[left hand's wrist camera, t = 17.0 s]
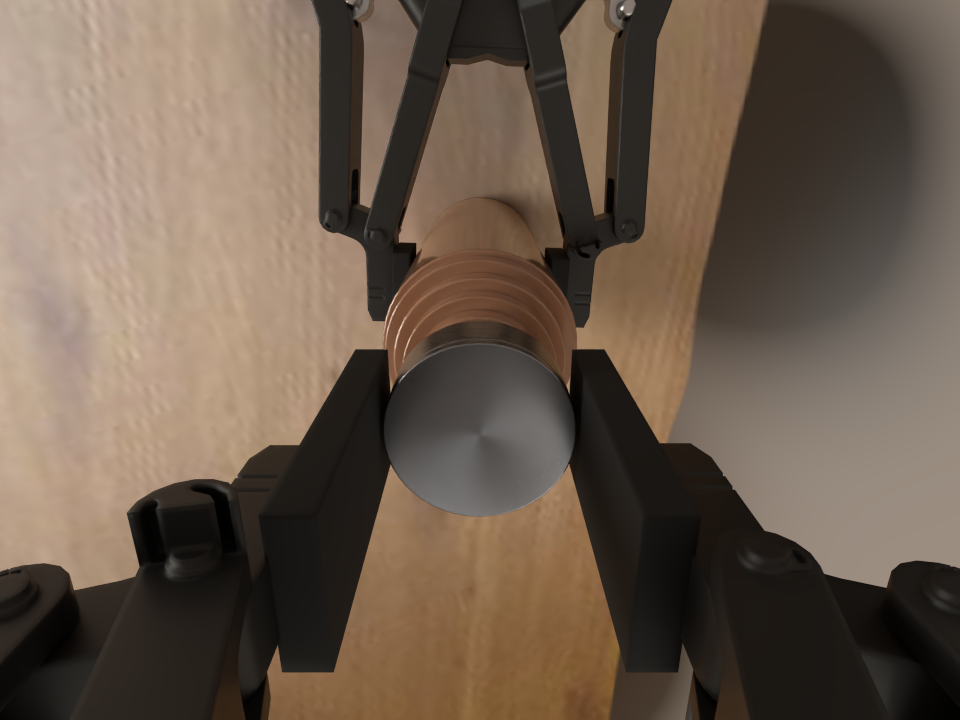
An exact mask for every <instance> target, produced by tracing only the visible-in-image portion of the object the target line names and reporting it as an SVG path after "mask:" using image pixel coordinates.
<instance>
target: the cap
mask: <svg viewBox="0 0 960 720" xmlns="http://www.w3.org/2000/svg"><path fill="white" fill-rule="evenodd" d="M576 436H577V422H576V416H575V411H574V407H573V404H572V401H571V398H570V395H569V392H568V389H567V387H566V384H565V381H564V378H563V375H562V372H561V370H560V368H559V366H558V364H557V362H556V361H555V359H554V358H553V356H552V355H551V354H550V352H549V351H548V350H547V349H546V348H545V347H544V346H543V345H542V344H541V343H540V342H539V341H537V340H536V339H535V338H533V337H532V336H530V335H529V334H527V333H526V332H524V331H522V330H520V329H517V328H515V327H513V326H510V325H507V324H503V323H498V322H493V321H480V320H479V321H466V322H461V323H456V324H453V325H450V326H447V327H444V328H442V329H440V330H438V331H436V332H434V333H432V334H431V335H429V336H428V337H426V338H425V339H423V340H422V341H421V342H420V343H419V344H418V345H416V346H415V347H414V349H413V350H412V351H411V352H410V353H409V354H408V356H407V357H406V359H405V360H404V362H403V363H402V365H401V367H400V369H399V371H398V374H397V376H396V379H395V382H394V385H393V388H392V391H391V394H390V397H389V399H388V402H387V406H386V409H385V413H384V419H383V440H384V446H385V450H386V453H387V457H388V459H389V461H390V463H391V465H392V468H393V469H394V471H395V472H396V474H397V475H398V477H399V478H400V479H401V481H402V482H403V483H404V484H405V486H406V487H408V488H409V489H410V490H411V491H412V492H413V493H414V494H415V495H417V496H418V497H419V498H421V499H422V500H424V501H425V502H427V503H429V504H431V505H432V506H434V507H437V508H439V509H442V510H444V511H447V512H451V513H454V514H459V515H465V516H478V517H482V516H495V515H500V514H505V513H509V512H512V511H515V510H518V509H520V508H523V507H525V506H527V505H529V504H531V503H532V502H534V501H536V500H537V499H539V498H540V497H541V496H543V495H544V494H546V493H547V492H548V491H549V490H550V489H551V488H552V487H553V486H554V485H555V484H556V483H557V481H558V480H559V479H560V478H561V476H562V475H563V473H564V471H565V470H566V468H567V467H568V464H569V462H570V460H571V458H572V455H573V451H574V448H575V443H576Z"/></svg>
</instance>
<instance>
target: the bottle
mask: <svg viewBox="0 0 960 720" xmlns="http://www.w3.org/2000/svg"><path fill="white" fill-rule="evenodd" d="M479 320H480V321H493V322H498V323H503V324H507V325H510V326H513V327H515V328H517V329H520V330H522V331H524V332H526V333H527V334H529V335H530V336H532V337H533V338H535V339H536V340H537V341H539V342H540V343H541V344H542V345H543V346H544V347H545V348H546V349H547V350H548V351H549V352H550V354H551V355H552V356H553V358H554V359H555V361H556V362H557V364H558V366H559V368H560V370H561V372H562V375H563V378H564V381H565V384H566V385H567V383H568V381H569V379H570V375H571V360H572V349H577V333H576V324H575V321H574V317H573V313H572V310H571V308H570V306H569V303H568V301H567V299H566V297H565V295H564V293H563V292H562V290H561V288H560V286H559V284H558V282H557V280H556V278H555V277H554V275H553V273H552V271H551V269H550V267H549V265H548V263H547V262H546V260H545V258H544V256H543V254H542V252H541V250H540V248H539V247H538V245H537V243H536V241H535V239H534V237H533V235H532V234H531V232H530V230H529V228H528V226H527V224H526V223H525V221H524V220H523V219H522V217H521V216H520V215H519V214H518V213H517V212H516V211H515V210H513V209H512V208H511V207H509V206H508V205H506V204H504V203H502V202H499V201H497V200H493V199H489V198H472V199H467V200H463V201H460V202H458V203H456V204H454V205H452V206H451V207H449V208H448V209H446V210H445V211H444V212H443V213H442V214H441V215H440V216H439V217H438V218H437V220H436V221H435V223H434V224H433V226H432V228H431V229H430V231H429V233H428V235H427V237H426V239H425V241H424V242H423V244H422V246H421V248H420V250H419V252H418V254H417V256H416V257H415V259H414V261H413V263H412V265H411V267H410V269H409V270H408V272H407V274H406V276H405V278H404V280H403V282H402V283H401V285H400V287H399V289H398V291H397V293H396V295H395V297H394V299H393V301H392V303H391V305H390V307H389V309H388V312H387V315H386V319H385V323H384V329H383V349H388V360H389V377H390V379H391V382H392V384H393V385H394V382H395V379H396V376H397V374H398V371H399V369H400V367H401V365H402V363H403V362H404V360H405V359H406V357H407V356H408V354H409V353H410V352H411V351H412V350H413V349H414V347H415V346H416V345H418V344H419V343H420V342H421V341H422V340H423V339H425V338H426V337H428V336H429V335H431V334H432V333H434V332H436V331H438V330H440V329H442V328H444V327H447V326H450V325H453V324H456V323H461V322H466V321H479Z"/></svg>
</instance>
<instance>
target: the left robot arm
mask: <svg viewBox="0 0 960 720" xmlns="http://www.w3.org/2000/svg"><path fill="white" fill-rule="evenodd" d="M389 397H390V377H389V360H388V349H356V350H355V351H354V353H353V355H352V356H351V358H350V360H349V362H348V363H347V365H346V367H345V368H344V370H343V372H342V373H341V375H340V377H339V379H338V380H337V382H336V384H335V385H334V387H333V389H332V391H331V392H330V394H329V396H328V397H327V399H326V401H325V402H324V404H323V406H322V408H321V409H320V411H319V413H318V414H317V416H316V418H315V420H314V421H313V423H312V425H311V426H310V428H309V430H308V431H307V433H306V435H305V437H304V438H303V440H302V442H301V443H300V445H270V446H268V447H267V448H265V449H264V450H262V451H261V452H259V453H258V454H256V455H255V456H253V457H252V458H250V459H249V460H248V461H247V463H246V464H245V466H244V467H243V468H242V470H241V471H240V473H239V474H238V478H235V480H234V481H233V482H232V484H231V485H230V484H229V483H227V482H223V481H219V480H215V479H194V480H189V481H184V482H179V483H174V484H171V485H169V486H166V487H163V488H161V489H158V490H155V491H153V492H152V493H150V494H148V495H147V496H145V497H144V498H142V499H140V500H139V501H137V502H136V503H135V504H134V506H133V507H132V508H131V509H130V510H129V511H128V512H127V516H128V520H129V524H130V528H131V532H132V536H133V541H134V545H135V549H136V553H137V557H138V561H139V565H140V567H139V570H138V572H137V574H136V576H135V577H133V578H129V579H125V580H122V581H117V582H113V583H108V584H103V585H98V586H94V587H89V588H84V589H79V590H75V591H74V588H73V585H72V582H71V578H70V575H69V573H68V572H66V571H65V570H64V569H63V568H62V567H61V566H56V565H51V564H45V563H43V564H33V565H24V566H19V567H14V568H11V569H9V570H8V569H7V570H4V571H1V572H0V720H268V716H269V708H270V699H271V696H270V688H269V681H268V675H267V670H268V668H269V665H270V663H271V660H272V658H273V655H274V653H275V650H276V648H277V645H278V648H279V655H280V661H281V668H282V672H334V669H335V665H336V662H337V658H338V654H339V651H340V647H341V643H342V640H343V636H344V633H345V629H346V625H347V622H348V618H349V614H350V611H351V607H352V603H353V600H354V596H355V592H356V589H357V585H358V581H359V578H360V574H361V570H362V567H363V563H364V559H365V556H366V552H367V548H368V545H369V541H370V537H371V534H372V530H373V527H374V523H375V519H376V516H377V512H378V508H379V505H380V501H381V497H382V494H383V490H384V486H385V483H386V479H387V475H388V472H389V468H390V464H391V463H390V461H389V459H388V457H387V453H386V450H385V446H384V440H383V419H384V413H385V409H386V406H387V402H388V399H389ZM570 398H571V401H572V404H573V407H574V411H575V416H576V422H577V436H576V443H575V448H574V451H573V455H572V458H571V460H570V462H569V464H570V468H571V472H572V475H573V479H574V483H575V486H576V490H577V494H578V497H579V501H580V505H581V508H582V512H583V516H584V519H585V523H586V527H587V530H588V534H589V537H590V541H591V545H592V548H593V552H594V556H595V559H596V563H597V567H598V570H599V574H600V578H601V581H602V585H603V589H604V592H605V596H606V600H607V603H608V607H609V611H610V614H611V618H612V622H613V625H614V629H615V633H616V636H617V640H618V643H619V647H620V651H621V654H622V658H623V662H624V665H625V669H626V672H678V668H679V661H680V655H681V648H682V642H683V645H684V647H685V650H686V652H687V655H688V657H689V660H690V662H691V665H692V667H693V675H692V681H691V688H690V694H689V700H688V706H687V712H686V718H685V720H960V568H957V567H951V566H950V565H946V564H941V563H935V562H925V561H912V562H906V563H901V564H899V565H898V566H897V567H896V568H895V569H893V570H892V571H891V575H890V578H889V582H888V585H887V588H884V587H879V586H875V585H870V584H865V583H860V582H855V581H851V580H846V579H841V578H837V577H833V576H830V575H826V574H824V573H823V571H822V569H821V566H820V565H819V564H818V562H817V561H816V560H815V558H814V557H813V556H812V554H811V553H810V552H808V551H807V550H805V549H804V548H803V547H801V546H800V545H798V544H797V543H796V542H794V541H792V540H789V539H787V538H785V537H782V536H780V535H778V534H775V533H771V532H767V531H764V530H763V528H762V527H761V525H760V524H759V523H758V521H757V520H756V518H755V517H754V516H753V514H752V513H751V512H750V510H749V509H748V507H747V506H746V505H745V503H744V502H743V500H742V499H741V498H740V496H739V495H738V494H737V492H736V491H735V490H733V489H732V485H731V484H730V483H729V481H728V480H727V478H726V477H725V476H723V473H722V471H721V470H720V469H719V467H718V466H717V465H716V463H715V462H714V460H713V459H712V458H711V457H710V456H709V455H707V454H706V453H704V452H703V451H701V450H700V449H698V448H697V447H695V446H693V445H692V444H690V443H659V442H658V440H657V438H656V437H655V435H654V433H653V431H652V430H651V428H650V426H649V425H648V423H647V421H646V420H645V418H644V416H643V414H642V413H641V411H640V409H639V408H638V406H637V404H636V402H635V401H634V399H633V397H632V396H631V394H630V392H629V391H628V389H627V387H626V385H625V384H624V382H623V380H622V379H621V377H620V375H619V373H618V372H617V370H616V368H615V367H614V365H613V363H612V362H611V360H610V358H609V356H608V355H607V353H606V351H605V350H604V349H572V360H571V377H570Z"/></svg>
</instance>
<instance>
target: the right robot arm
mask: <svg viewBox="0 0 960 720" xmlns="http://www.w3.org/2000/svg"><path fill="white" fill-rule="evenodd" d="M311 1H312V4H313V7H314V10H315V13H316V17H317V20H318V23H319V26H320V32H319V221H320V223H321V225H322V227H323V228H324V229H326V230H327V231H329V232H332V233H337V232H338V233H341V234H343V235H346V236H348V237H351V238H353V239H355V240H357V241H358V242H359V243H361V245H362V246H363V247H364V249H365V252H366V262H367V295H368V311H369V313H370V315H371V318H372V320H373V321H385V319H386V315H387V312H388V309H389V307H390V305H391V303H392V301H393V299H394V297H395V295H396V293H397V291H398V289H399V287H400V285H401V283H402V282H403V280H404V278H405V276H406V274H407V272H408V270H409V269H410V267H411V265H412V263H413V261H414V259H415V257H416V243H399V234H400V232H401V226H402V222H403V219H404V216H405V212H406V209H407V206H408V202H409V199H410V196H411V192H412V189H413V186H414V182H415V179H416V176H417V172H418V169H419V166H420V162H421V159H422V156H423V153H424V149H425V146H426V143H427V139H428V136H429V133H430V129H431V126H432V123H433V119H434V116H435V113H436V109H437V106H438V103H439V99H440V96H441V93H442V90H443V87H444V85H445V82H446V79H447V76H448V72H449V69H450V66H451V64H466V65H468V64H472V63H476V62H480V61H484V60H490V61H493V62H496V63H499V64H502V65H505V66H518V67H524V72H525V76H526V81H527V85H528V88H529V91H530V94H531V98H532V102H533V107H534V111H535V116H536V120H537V125H538V129H539V134H540V138H541V143H542V147H543V152H544V156H545V160H546V165H547V169H548V174H549V178H550V183H551V187H552V192H553V196H554V201H555V205H556V210H557V214H558V219H559V223H560V227H561V232H562V236H563V239H564V241H563V249H562V248H545V260H546V262H547V263H548V265H549V267H550V269H551V271H552V273H553V275H554V277H555V278H556V280H557V282H558V284H559V286H560V288H561V290H562V292H563V293H564V295H565V297H566V299H567V301H568V303H569V306H570V308H571V310H572V313H573V317H574V321H575V324H576V327H581V328H584V326H585V324H586V322H587V320H588V318H589V313H590V303H591V293H592V283H593V274H594V264H595V260H596V258H597V256H598V255H599V254H600V252H601V251H603V250H604V249H606V248H608V247H611V246H614V245H618V244H621V243H624V242H625V243H632V242H635V241H636V240H638V239H639V238H640V237H641V236H642V234H643V231H644V225H645V210H646V195H647V180H648V166H649V151H650V136H651V121H652V106H653V91H654V76H655V61H656V46H657V38H658V36H659V33H660V31H661V28H662V26H663V23H664V20H665V18H666V15H667V13H668V10H669V8H670V5H671V2H672V0H604V4H605V11H604V21H605V24H606V26H607V27H608V28H609V30H611V31H613V32H615V33H616V34H615V37H614V42H613V47H612V53H611V63H610V86H609V109H608V132H607V155H606V178H605V201H604V213H602V214H599V215H596V216H594V213H593V208H592V203H591V198H590V193H589V188H588V183H587V178H586V174H585V169H584V164H583V159H582V154H581V149H580V144H579V139H578V134H577V129H576V124H575V119H574V115H573V110H572V105H571V100H570V95H569V90H568V85H567V73H566V65H565V60H564V55H563V50H562V45H561V40H560V35H561V33H562V32H563V31H564V29H565V28H566V27H567V25H568V24H569V22H570V21H571V20H572V18H573V17H574V16H575V14H576V13H577V12H578V10H579V9H580V7H581V6H582V5H583V3H584V2H585V1H586V0H399V2H400V3H401V5H402V6H403V8H404V10H405V11H406V13H407V14H408V16H409V17H410V19H411V21H412V22H413V24H414V25H415V27H416V29H417V30H418V33H417V37H416V40H415V44H414V48H413V51H412V55H411V58H410V63H409V68H408V75H407V79H406V83H405V87H404V90H403V94H402V97H401V101H400V104H399V108H398V112H397V115H396V119H395V122H394V126H393V130H392V133H391V137H390V140H389V144H388V147H387V151H386V155H385V158H384V162H383V165H382V169H381V172H380V176H379V180H378V183H377V187H376V190H375V194H374V197H373V201H372V205H371V208H368V207H365V206H363V205H360V176H361V140H362V103H363V66H364V41H363V33H362V26H361V22H364V21H366V20H368V19H369V18H370V17H371V15H372V13H373V10H374V0H311Z"/></svg>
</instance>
